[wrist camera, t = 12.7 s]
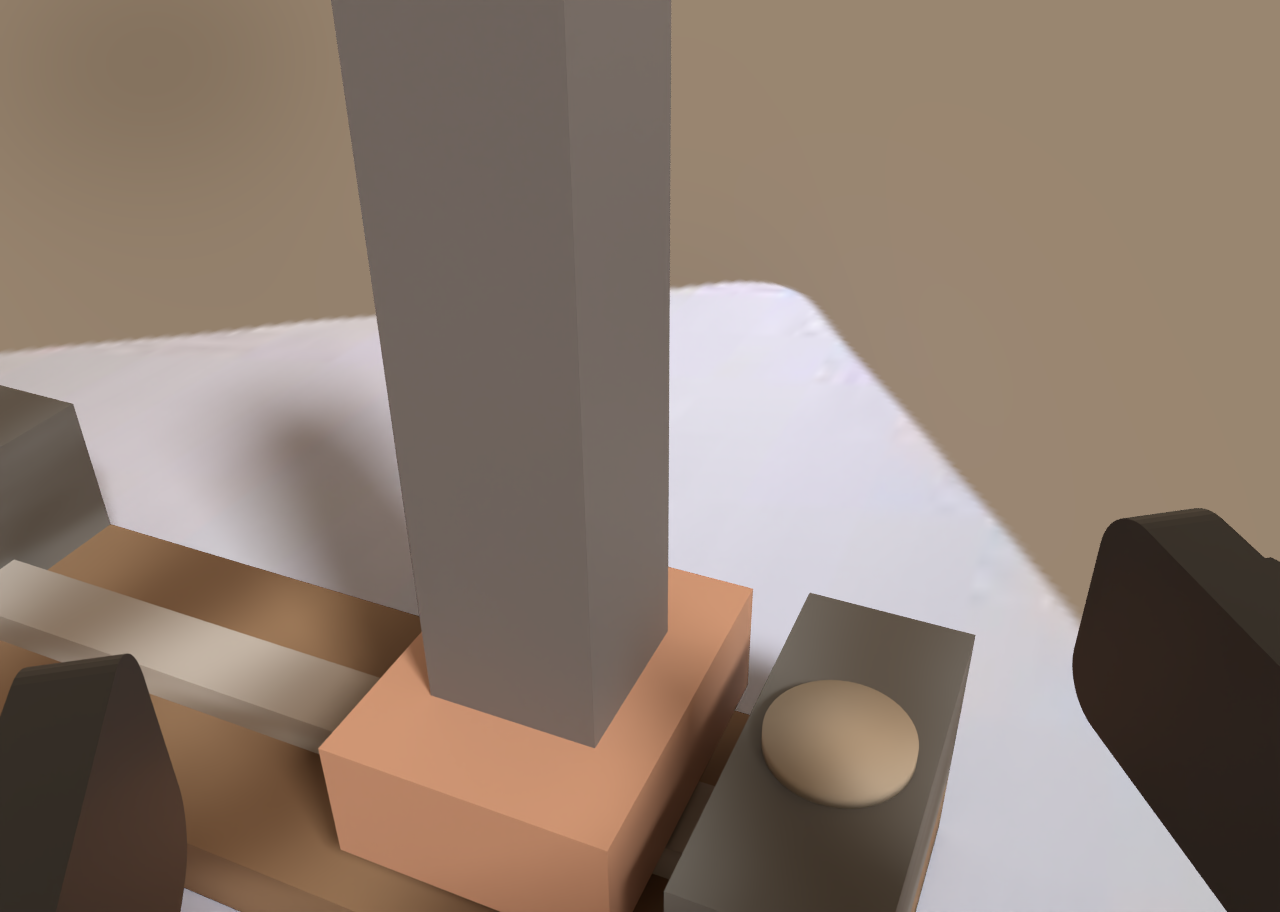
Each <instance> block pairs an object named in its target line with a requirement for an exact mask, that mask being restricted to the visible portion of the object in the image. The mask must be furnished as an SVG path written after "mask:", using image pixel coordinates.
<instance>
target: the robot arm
mask: <svg viewBox="0 0 1280 912" xmlns="http://www.w3.org/2000/svg"><path fill="white" fill-rule="evenodd" d="M1072 667H1073V679H1074V685H1075V689H1076V693H1077V697H1078V700H1079V703H1080V705H1081V708H1082V710H1083V712H1084V714H1085V716H1086V718H1087V720H1088V721H1089V723H1090V725H1091V726H1092V728H1093V729H1094V730H1095V732H1096V733H1097V734H1098V736H1099V737H1100V739H1101V740H1102V741H1103V743H1104V744H1105V745H1106V747H1107V748H1108V749H1109V751H1110V752H1111V754H1112V755H1113V756H1114V758H1115V759H1116V760H1117V762H1118V763H1119V765H1120V766H1121V767H1122V769H1123V770H1124V771H1125V773H1126V774H1127V775H1128V777H1129V778H1130V780H1131V781H1132V782H1133V784H1134V785H1135V786H1136V788H1137V789H1138V791H1139V792H1140V793H1141V795H1142V796H1143V797H1144V799H1145V800H1146V801H1147V803H1148V804H1149V806H1150V807H1151V808H1152V810H1153V811H1154V812H1155V814H1156V815H1157V817H1158V818H1159V819H1160V821H1161V822H1162V823H1163V825H1164V826H1165V827H1166V829H1167V830H1168V832H1169V833H1170V834H1171V836H1172V837H1173V838H1174V840H1175V841H1176V843H1177V844H1178V845H1179V847H1180V848H1181V849H1182V851H1183V852H1184V853H1185V855H1186V856H1187V858H1188V859H1189V860H1190V862H1191V863H1192V864H1193V866H1194V867H1195V869H1196V870H1197V871H1198V873H1199V874H1200V875H1201V877H1202V878H1203V879H1204V881H1205V882H1206V884H1207V885H1208V886H1209V888H1210V889H1211V890H1212V892H1213V893H1214V895H1215V896H1216V897H1217V899H1218V900H1219V901H1220V903H1221V904H1222V905H1223V907H1224V908H1225V910H1226V911H1227V912H1280V562H1279V561H1277V560H1275V559H1273V558H1271V557H1270V558H1264V557H1263V556H1262V555H1261V554H1260V553H1259V552H1258V551H1256V550H1255V549H1254V548H1253V547H1252V546H1251V545H1250V544H1249V543H1248V542H1247V541H1246V540H1245V539H1243V538H1242V537H1241V536H1240V535H1239V534H1238V533H1237V532H1236V531H1235V530H1234V529H1233V528H1232V527H1230V526H1229V525H1228V524H1227V523H1226V522H1225V521H1224V520H1223V519H1222V518H1220V517H1219V516H1218V515H1216V514H1215V513H1213V512H1211V511H1209V510H1206V509H1202V508H1200V509H1199V508H1195V509H1188V510H1180V511H1173V512H1166V513H1159V514H1152V515H1144V516H1137V517H1130V518H1123V519H1119V520H1116V521H1114V522H1113V523H1112V524H1110V526H1109V527H1108V528H1107V529H1106V531H1105V533H1104V535H1103V537H1102V541H1101V544H1100V548H1099V552H1098V556H1097V560H1096V564H1095V568H1094V572H1093V576H1092V580H1091V584H1090V588H1089V592H1088V596H1087V600H1086V604H1085V608H1084V612H1083V616H1082V620H1081V624H1080V628H1079V632H1078V636H1077V640H1076V644H1075V648H1074V653H1073V663H1072ZM186 866H187V831H186V820H185V812H184V805H183V800H182V795H181V792H180V788H179V785H178V782H177V778H176V775H175V772H174V769H173V766H172V763H171V760H170V757H169V754H168V750H167V747H166V744H165V741H164V738H163V735H162V732H161V729H160V725H159V722H158V719H157V716H156V713H155V710H154V707H153V704H152V701H151V697H150V694H149V691H148V688H147V685H146V682H145V679H144V676H143V673H142V670H141V668H140V666H139V664H138V662H137V660H136V659H135V657H134V656H132V655H131V654H128V653H126V654H119V655H112V656H104V657H97V658H90V659H83V660H75V661H68V662H61V663H54V664H47V665H39V666H32V667H26V668H23V669H21V670H20V671H19V672H18V673H17V675H16V676H15V678H14V680H13V682H12V685H11V687H10V690H9V693H8V696H7V699H6V701H5V704H4V707H3V710H2V713H1V716H0V912H180V911H181V904H182V897H183V890H184V883H185V876H186Z"/></svg>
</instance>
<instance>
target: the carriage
mask: <svg viewBox="0 0 1280 912" xmlns="http://www.w3.org/2000/svg"><path fill="white" fill-rule="evenodd" d="M331 2H332V9H333V16H334V23H335V30H336V37H337V44H338V51H339V58H340V65H341V72H342V79H343V86H344V93H345V100H346V106H347V114H348V120H349V128H350V135H351V142H352V148H353V156H354V162H355V170H356V177H357V184H358V190H359V198H360V205H361V212H362V219H363V226H364V232H365V240H366V246H367V254H368V260H369V267H370V274H371V281H372V288H373V295H374V302H375V309H376V316H377V323H378V330H379V337H380V344H381V351H382V358H383V365H384V372H385V379H386V386H387V393H388V400H389V407H390V414H391V421H392V428H393V435H394V442H395V449H396V456H397V463H398V470H399V477H400V484H401V491H402V498H403V505H404V512H405V519H406V525H407V532H408V539H409V546H410V553H411V560H412V567H413V574H414V581H415V588H416V595H417V602H418V609H419V616H420V623H421V630H422V632H421V633H420V634H419V635H418V636H417V638H416V639H415V640H414V641H413V642H412V643H411V644H410V645H409V647H408V648H407V649H406V650H405V651H404V652H403V653H402V655H401V656H400V657H399V658H398V659H397V660H396V661H395V662H394V664H393V665H392V666H391V667H390V668H389V669H388V670H387V671H386V673H385V674H384V675H383V676H382V677H381V678H380V679H379V680H378V682H377V683H376V684H375V685H374V686H373V687H372V688H371V690H370V691H369V692H368V693H367V694H366V695H365V696H364V697H363V699H362V700H361V701H360V702H359V703H358V704H357V705H356V706H355V708H354V709H353V710H352V711H351V712H350V713H349V714H348V715H347V717H346V718H345V719H344V720H343V721H342V722H341V723H340V725H339V726H338V727H337V728H336V729H335V730H334V731H333V732H332V734H331V735H330V736H329V737H328V738H327V739H326V740H325V741H324V743H323V744H322V745H321V746H320V747H319V748H318V750H319V754H320V759H321V763H322V768H323V772H324V777H325V781H326V786H327V790H328V795H329V799H330V804H331V808H332V813H333V817H334V822H335V827H336V831H337V836H338V840H339V845H340V849H341V850H343V851H345V852H348V853H351V854H353V855H356V856H358V857H361V858H363V859H366V860H369V861H371V862H374V863H376V864H379V865H381V866H384V867H387V868H389V869H392V870H394V871H397V872H399V873H402V874H405V875H407V876H410V877H412V878H415V879H417V880H420V881H423V882H425V883H428V884H430V885H433V886H435V887H438V888H441V889H443V890H446V891H448V892H451V893H453V894H456V895H459V896H461V897H464V898H466V899H469V900H472V901H474V902H477V903H479V904H482V905H484V906H487V907H490V908H492V909H495V910H497V911H500V912H633V910H634V908H635V906H636V904H637V902H638V900H639V898H640V896H641V894H642V892H643V890H644V888H645V886H646V884H647V882H648V881H649V879H650V877H651V875H652V873H653V871H654V869H655V867H656V865H657V863H658V861H659V859H660V857H661V855H662V853H663V851H664V849H665V847H666V845H667V843H668V841H669V839H670V837H671V835H672V833H673V831H674V829H675V827H676V825H677V823H678V821H679V819H680V817H681V815H682V813H683V811H684V809H685V807H686V805H687V803H688V801H689V799H690V798H691V796H692V794H693V792H694V790H695V788H696V786H697V784H698V782H699V780H700V778H701V776H702V774H703V772H704V770H705V768H706V766H707V764H708V762H709V760H710V758H711V756H712V754H713V752H714V750H715V748H716V746H717V744H718V742H719V740H720V738H721V736H722V734H723V732H724V730H725V728H726V726H727V724H728V722H729V720H730V718H731V716H732V715H733V713H734V711H735V709H736V707H737V705H738V703H739V701H740V699H741V697H742V695H743V693H744V691H745V689H746V687H747V685H748V668H749V650H750V632H751V614H752V596H753V589H751V588H748V587H744V586H740V585H736V584H732V583H728V582H724V581H721V580H717V579H713V578H709V577H705V576H701V575H698V574H694V573H690V572H686V571H682V570H678V569H674V568H671V567H668V496H669V308H670V120H671V119H670V118H671V117H670V115H671V110H670V109H671V108H670V107H671V0H331Z"/></svg>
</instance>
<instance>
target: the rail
mask: <svg viewBox="0 0 1280 912" xmlns="http://www.w3.org/2000/svg"><path fill="white" fill-rule="evenodd" d="M421 632H422V630H421V623H420V616H416V615H413V614H410V613H406V612H403V611H400V610H396V609H393V608H390V607H386V606H383V605H379V604H376V603H373V602H369V601H366V600H363V599H359V598H356V597H353V596H349V595H346V594H343V593H339V592H336V591H333V590H329V589H326V588H322V587H319V586H316V585H312V584H309V583H306V582H302V581H299V580H296V579H292V578H289V577H286V576H282V575H279V574H276V573H272V572H269V571H266V570H262V569H259V568H255V567H252V566H249V565H245V564H242V563H239V562H235V561H232V560H229V559H225V558H222V557H219V556H215V555H212V554H209V553H205V552H202V551H199V550H195V549H192V548H188V547H185V546H182V545H178V544H175V543H172V542H168V541H165V540H162V539H158V538H155V537H152V536H148V535H145V534H142V533H138V532H135V531H131V530H128V529H125V528H121V527H118V526H115V525H111V524H110V521H109V518H108V515H107V512H106V508H105V505H104V502H103V499H102V495H101V492H100V489H99V486H98V483H97V479H96V476H95V473H94V470H93V467H92V463H91V460H90V457H89V454H88V450H87V447H86V444H85V441H84V438H83V434H82V431H81V428H80V425H79V422H78V418H77V415H76V412H75V409H74V406H73V404H71V403H67V402H63V401H59V400H56V399H52V398H48V397H44V396H40V395H36V394H32V393H28V392H24V391H20V390H17V389H13V388H9V387H5V386H1V385H0V716H1V713H2V710H3V707H4V704H5V701H6V699H7V696H8V693H9V690H10V687H11V685H12V682H13V680H14V678H15V676H16V675H17V673H18V672H19V671H20V670H21V669H23V668H26V667H32V666H39V665H47V664H54V663H61V662H68V661H75V660H83V659H90V658H97V657H104V656H112V655H119V654H126V653H128V654H131V655H132V656H134V657H135V659H136V660H137V662H138V664H139V666H140V668H141V670H142V673H143V676H144V679H145V682H146V685H147V688H148V691H149V694H150V697H151V701H152V704H153V707H154V710H155V713H156V716H157V719H158V722H159V725H160V729H161V732H162V735H163V738H164V741H165V744H166V747H167V750H168V754H169V757H170V760H171V763H172V766H173V769H174V772H175V775H176V778H177V782H178V785H179V788H180V792H181V795H182V800H183V805H184V812H185V820H186V831H187V866H186V876H185V883H184V888H186V889H189V890H191V891H193V892H196V893H198V894H200V895H203V896H205V897H207V898H210V899H212V900H214V901H217V902H219V903H221V904H224V905H226V906H229V907H231V908H233V909H236V910H238V911H240V912H500V911H497V910H495V909H492V908H490V907H487V906H484V905H482V904H479V903H477V902H474V901H472V900H469V899H466V898H464V897H461V896H459V895H456V894H453V893H451V892H448V891H446V890H443V889H441V888H438V887H435V886H433V885H430V884H428V883H425V882H423V881H420V880H417V879H415V878H412V877H410V876H407V875H405V874H402V873H399V872H397V871H394V870H392V869H389V868H387V867H384V866H381V865H379V864H376V863H374V862H371V861H369V860H366V859H363V858H361V857H358V856H356V855H353V854H351V853H348V852H345V851H343V850H341V849H340V845H339V840H338V836H337V831H336V827H335V822H334V817H333V813H332V808H331V804H330V799H329V795H328V790H327V786H326V781H325V777H324V772H323V768H322V763H321V759H320V754H319V750H318V748H319V747H320V746H321V745H322V744H323V743H324V741H325V740H326V739H327V738H328V737H329V736H330V735H331V734H332V732H333V731H334V730H335V729H336V728H337V727H338V726H339V725H340V723H341V722H342V721H343V720H344V719H345V718H346V717H347V715H348V714H349V713H350V712H351V711H352V710H353V709H354V708H355V706H356V705H357V704H358V703H359V702H360V701H361V700H362V699H363V697H364V696H365V695H366V694H367V693H368V692H369V691H370V690H371V688H372V687H373V686H374V685H375V684H376V683H377V682H378V680H379V679H380V678H381V677H382V676H383V675H384V674H385V673H386V671H387V670H388V669H389V668H390V667H391V666H392V665H393V664H394V662H395V661H396V660H397V659H398V658H399V657H400V656H401V655H402V653H403V652H404V651H405V650H406V649H407V648H408V647H409V645H410V644H411V643H412V642H413V641H414V640H415V639H416V638H417V636H418V635H419V634H420V633H421ZM974 640H975V635H973V634H969V633H965V632H961V631H957V630H953V629H949V628H946V627H942V626H938V625H934V624H930V623H926V622H922V621H918V620H914V619H910V618H907V617H903V616H899V615H895V614H891V613H887V612H883V611H879V610H875V609H871V608H867V607H864V606H860V605H856V604H852V603H848V602H844V601H840V600H836V599H832V598H828V597H825V596H821V595H817V594H813V593H809V595H808V597H807V599H806V601H805V603H804V605H803V608H802V610H801V612H800V614H799V616H798V618H797V620H796V622H795V624H794V626H793V628H792V630H791V632H790V634H789V636H788V638H787V640H786V642H785V644H784V646H783V648H782V651H781V653H780V655H779V657H778V659H777V661H776V663H775V665H774V667H773V669H772V671H771V673H770V675H769V677H768V679H767V681H766V683H765V685H764V687H763V689H762V691H761V694H760V696H759V698H758V700H757V702H756V704H755V706H754V708H753V710H752V712H751V714H750V715H748V714H745V713H741V712H738V711H734V713H733V715H732V716H731V718H730V720H729V722H728V724H727V726H726V728H725V730H724V732H723V734H722V736H721V738H720V740H719V742H718V744H717V746H716V748H715V750H714V752H713V754H712V756H711V758H710V760H709V762H708V764H707V766H706V768H705V770H704V772H703V774H702V776H701V778H700V780H699V782H698V784H697V786H696V788H695V790H694V792H693V794H692V796H691V798H690V799H689V801H688V803H687V805H686V807H685V809H684V811H683V813H682V815H681V817H680V819H679V821H678V823H677V825H676V827H675V829H674V831H673V833H672V835H671V837H670V839H669V841H668V843H667V845H666V847H665V849H664V851H663V853H662V855H661V857H660V859H659V861H658V863H657V865H656V867H655V869H654V871H653V873H652V875H651V877H650V879H649V881H648V882H647V884H646V886H645V888H644V890H643V892H642V894H641V896H640V898H639V900H638V902H637V904H636V906H635V908H634V910H633V912H916V908H917V905H918V901H919V897H920V894H921V890H922V886H923V883H924V879H925V875H926V872H927V868H928V864H929V861H930V857H931V853H932V850H933V846H934V842H935V839H936V835H937V831H938V828H939V823H940V817H941V812H942V807H943V802H944V796H945V791H946V786H947V781H948V776H949V770H950V765H951V760H952V755H953V750H954V744H955V739H956V734H957V729H958V723H959V718H960V713H961V708H962V703H963V697H964V692H965V687H966V682H967V676H968V671H969V666H970V661H971V656H972V650H973V645H974Z"/></svg>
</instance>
